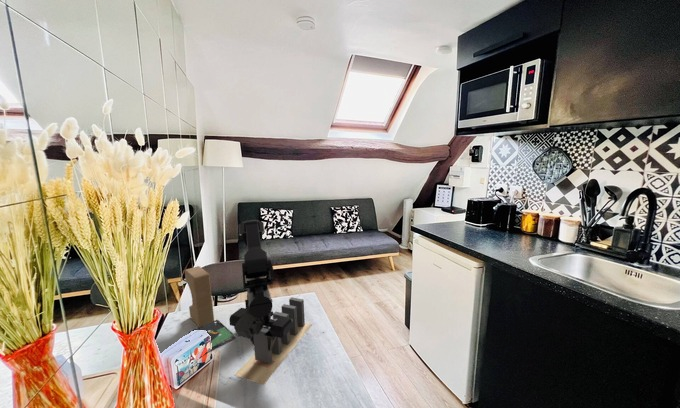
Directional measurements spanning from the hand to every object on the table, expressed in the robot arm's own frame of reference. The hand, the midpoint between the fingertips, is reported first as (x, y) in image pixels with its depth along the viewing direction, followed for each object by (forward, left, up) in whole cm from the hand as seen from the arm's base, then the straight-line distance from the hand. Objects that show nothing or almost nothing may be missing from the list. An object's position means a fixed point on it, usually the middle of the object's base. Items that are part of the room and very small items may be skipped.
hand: (262, 347), depth 83 cm
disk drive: (-25, +4, -7) cm, 26 cm away
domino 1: (0, 0, -4) cm, 4 cm away
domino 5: (0, +10, -5) cm, 11 cm away
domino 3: (0, +20, -5) cm, 21 cm away
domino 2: (0, +5, -5) cm, 7 cm away
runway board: (0, +7, -6) cm, 10 cm away
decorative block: (-38, +12, -6) cm, 40 cm away
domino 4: (0, +15, -5) cm, 16 cm away
